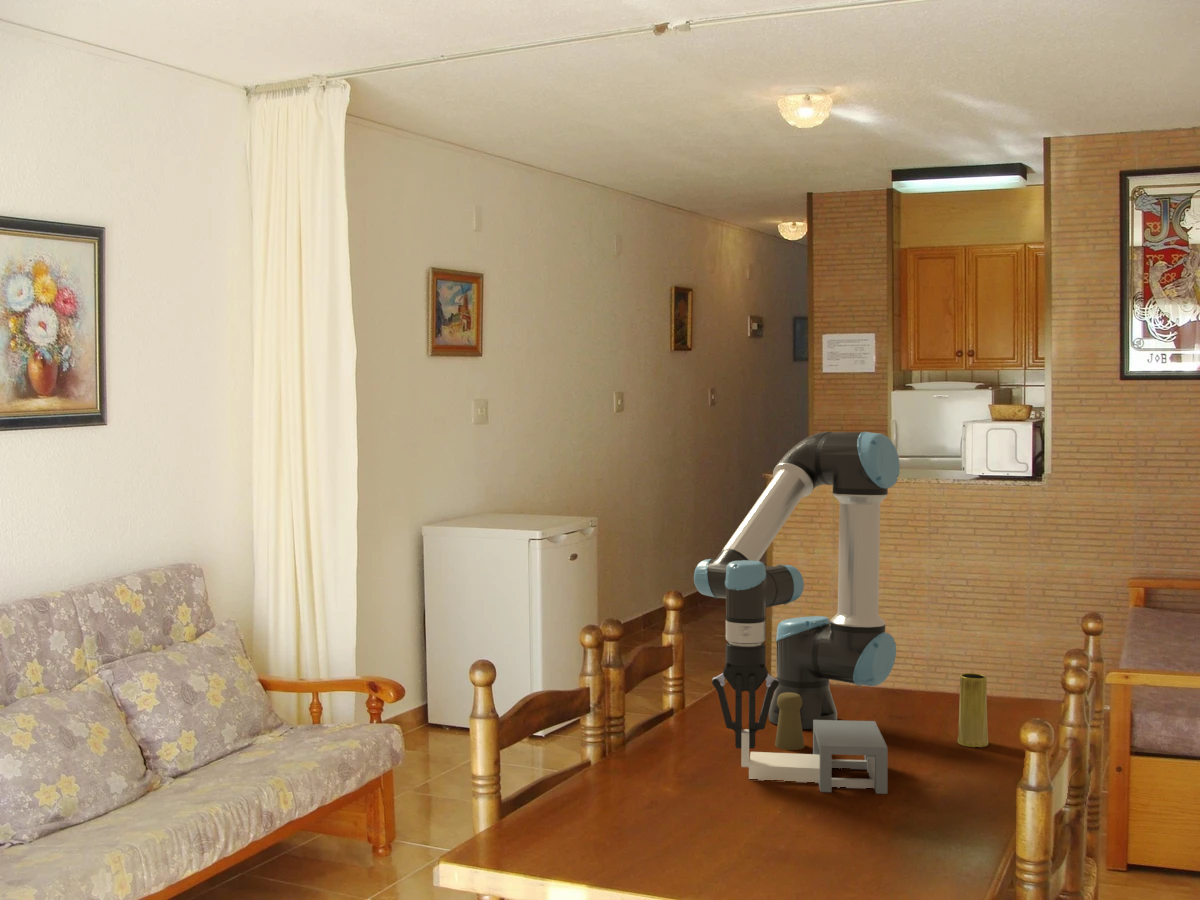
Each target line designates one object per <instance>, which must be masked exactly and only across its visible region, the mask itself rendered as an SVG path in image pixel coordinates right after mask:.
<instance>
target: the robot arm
mask: <svg viewBox="0 0 1200 900" xmlns="http://www.w3.org/2000/svg"><path fill="white" fill-rule="evenodd" d="M900 470H901V469H900V458H899V453H898V450H897V449H896V446H895V444H894V443H893V441H892V439H890V438H889V436H887V435H886V434H883V433H879V432H870V431H869V432H868V431H861V432H859V431H854V432H853V431H852V432H851V431H850V432H849V431H847V432H846V431H843V432H842V431H821V432H817V433H814V434H812V435H810V436H808V437H806V438H804V439H802V440H801V441H799V442H798V443H797V444H796V445H794V446H793V447H791V449H789V450H788V451H787V452H786V453H785V454H784V455H783V457H782V458H781V459H780V460H779V461H778V462H777V464H776V466H775V467H774V468H773V471H772V477H773V478H772V479H771V480H770V481H769V483H768V485H766V488H765V489H764V490H763V492H762V493H761V495H760V496H759V497H758V498H757V500H756V502H755V503H754V505H753V506H752V508H750V510H749V511H748V513H747V515H746V516H744V518H743V519H742V522H741V523H740V524H739V525H738V527H737V528H736V529H735V532H733V534H732V535H731V537H730V539H729V540H728V541H727V542H726V544H725V546H724V547H723V548H722V550H721V551H720V552H719V554H718V555H717V556H716V558H715V559H714V558H709V559H708V558H707V559H704V560H702V561H700V562H698V564H697V565H696V566H695V569H694V574H693V583H694V586H695V588H696V590H697V591H698V593H700V594H701V595H703V596H707V597H712V598H715V599H725V613H726V614H725V640H726V641H727V643H726V644H725V664H724V665H725V666H724V667H723V670H722V673H721V674H719V675H716V676H713V677H712V681H711V683H712V686H713V687H714V688H715V690H716V691H717V695H718V698H719V703H720V707H721V711H722V715H723V719H724V723H725V728H727V729H728V730H729V729H730V730H733V731H734V733H735V734H734V735H735V739H734V740H735V745H734V746H735V748H736V749H741V750H740V751H741V755H740V756H741V758H740V759H741V761H740V762H741V764H740V765H741V768H749V761H750V749H753V750H754V749H755V748H756V733H757V731H760V730H764V729H765V728H766V724H767V720H769V722H770V723H771V724H774V725H776V726H778V718H779V711H780V709H779V707H778V705H777V698H778V696H779V695H780V694H781V693H786V692H791V693H797V694H799V695H800V696H801V698H802V707H801V708H800V717H801V724H802V730H813V720H838V711H837V707H836V704H835V702H834V699H833V695H832V692H831V688H830V680H831V681H836V682H837V681H838V682H842V683H846V684H847V683H848V684H853V685H856V686H859V687H861V686H867V687H877V686H880V685H882V684H883V683H884V682H885V681H886V680H887V679H888V678H889V676H890V674H891V672H892V671H893V668H894V666H895V662H896V657H897V656H896V655H897V643H896V641H895V638H894V636H893V635H892V634H890V633H888V632H886V621H885V620H884V619H883V618H882V617H881V616H880V615H879V605H880V604H879V602H880V601H879V596H880V594H879V591H880V549H881V547H880V545H881V544H880V543H881V541H880V540H881V537H880V536H881V533H880V532H881V504H882V502H883V501H884V500H885V499H886V498H887V497H888V496H889V495H888V494H889V493H888V491H889V489H890V488H892V487H893V486H895V485H896V483H897V482H898V477H899V476H900ZM824 485H827V486H832V496H833V497H834V498H835V499H836V500H838V503H839V505H838V506H839V507H838V508H839V513H838V514H839V515H838V518H839V519H838V565H837V566H838V569H837V571H838V572H837V573H838V574H837V575H838V577H837V581H838V582H837V612H836V613H835V615H834V616H833V617H832V618H831V619H830V618H829V617H827V616H823V615H822V616H821V615H816V616H814V615H813V616H811V615H810V616H800V617H792V618H787V619H783V620H782V621H780V622H779V623H778V625H777V627H776V639H775V642H776V646H775V647H776V677H773V676H771V674H769V672H768V669H767V667H766V645H765V644H764V642H765V641H766V608H771V607H776V606H780V605H781V606H782V605H783V606H784V605H788V604H789V603H792V602H795V601H796V600H798V599H799V598H801V596H802V594H803V592H804V589H805V588H804V587H805V583H804V578H803V575H802V573H801V572H800V571H799V569H798V568H797V567H795V566H794V565H790V564H785V565H784V564H778V565H775V566H773V565H766V564H764V562H762V561H760V560H761V559H762V557H763V555H764V554H765V552H766V551H767V550H768V548H769V547H770V545H771V544H772V542H773V541H774V539H775V538H776V537H777V535H778V533H779V532H780V531H781V529H782V528H783V527H784V525H785V524H786V521H787V520H788V519H789V518H790V516H791V515H792V513H793V512H794V510H795V509H796V507H797V506H798V504H799V503H800V501H801V500H802V498H805V497H808V496H810V495H811V494H812V492H813V491H814V490H815V488H817V487H819V486H824ZM725 680H726V681H727V682H728V684H729V686H731V688H732V689H733V690H734V691H735V696H734V697H735V701H734V702H735V704H734V705H735V707H734V708H735V709H734V710H735V715H734V716H735V718H734V719H735V720H734V721H733V719H732V716H731V712H730V708H729V702H728V698H727V695H726V694H727V693H726V691H725V687H724V686H726V682H725ZM764 682H765V686H766V691H765V695H764V699H763V703H762V707H761V709H760V714H759V719H758V721H756V691H758V689H759V688H760V687H761V686H762V685H763V683H764ZM743 692H748V729H747V728H745V729H743V728H742V726H743V725H742V724H743V723H742V721H743V720H742V719H743V716H742V715H743V710H742V709H743Z"/></svg>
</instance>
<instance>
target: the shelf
mask: <svg viewBox="0 0 1200 900" xmlns="http://www.w3.org/2000/svg"><path fill="white" fill-rule="evenodd" d="M812 734H813V735H812V754H817V755H820V777H819V783H818V787H819V791H820V793H832V791H833V790H832V787H837V788H838V789H841V788H840V787H846V788H845V789H866V788H873V789H874V792H875V794H878V795H879V794H881V795H885V794H886V795H888V765H889V764H888V758H889V757H888V754H889V753H888V752H889V751H888V749H889V748H888V745H887V744H886V741H885V739H884V737H883V735H882V733H881V731H880V728H879V727H878V725H877V722H876V721H875V720H839V719H837V720H813V729H812ZM832 755H844V756H845V755H846V756H848V755H850V756H852V755H853V756H864V759H833V758H832ZM832 768H839V770H843V769H842V768H850V769H849V770H866V771H867V774H868V773H869V774H868V776H869V778H852V777H851V778H850V777H849V778H848V777H832V772H833V771H832V770H833V769H832ZM840 768H841V769H840ZM837 788H836V789H837Z"/></svg>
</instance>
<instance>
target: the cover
mask: <svg viewBox="0 0 1200 900" xmlns="http://www.w3.org/2000/svg"><path fill="white" fill-rule="evenodd" d="M819 777H820V755H817V754H813V753H791V752H790V753H789V752H770V751H769V752H768V751H766V752H764V751H750V752H749V767H748V780H749V779H758V780H757V781H764V780H784V781H783V782H785V781H796V782H795V783H807V782H815V783H814V784H819Z"/></svg>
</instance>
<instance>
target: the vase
mask: <svg viewBox="0 0 1200 900" xmlns="http://www.w3.org/2000/svg"><path fill="white" fill-rule="evenodd" d="M987 679H988V677H987V675H985V674H981V673H975V672H974V673H973V672H965V673H962V674H960V676H959V705H958V706H959V708H958V709H959V710H958V711H959V712H958V738H957V743H958V744H959V745H961V746H963V747H968V748H975V747H979V748H985V747H987V746H989V737H988V735H989V734H988V709H987V708H988V707H987V706H988V705H987V702H988V701H987V691H988V689H987V688H988V687H987V685H988V684H987Z"/></svg>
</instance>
